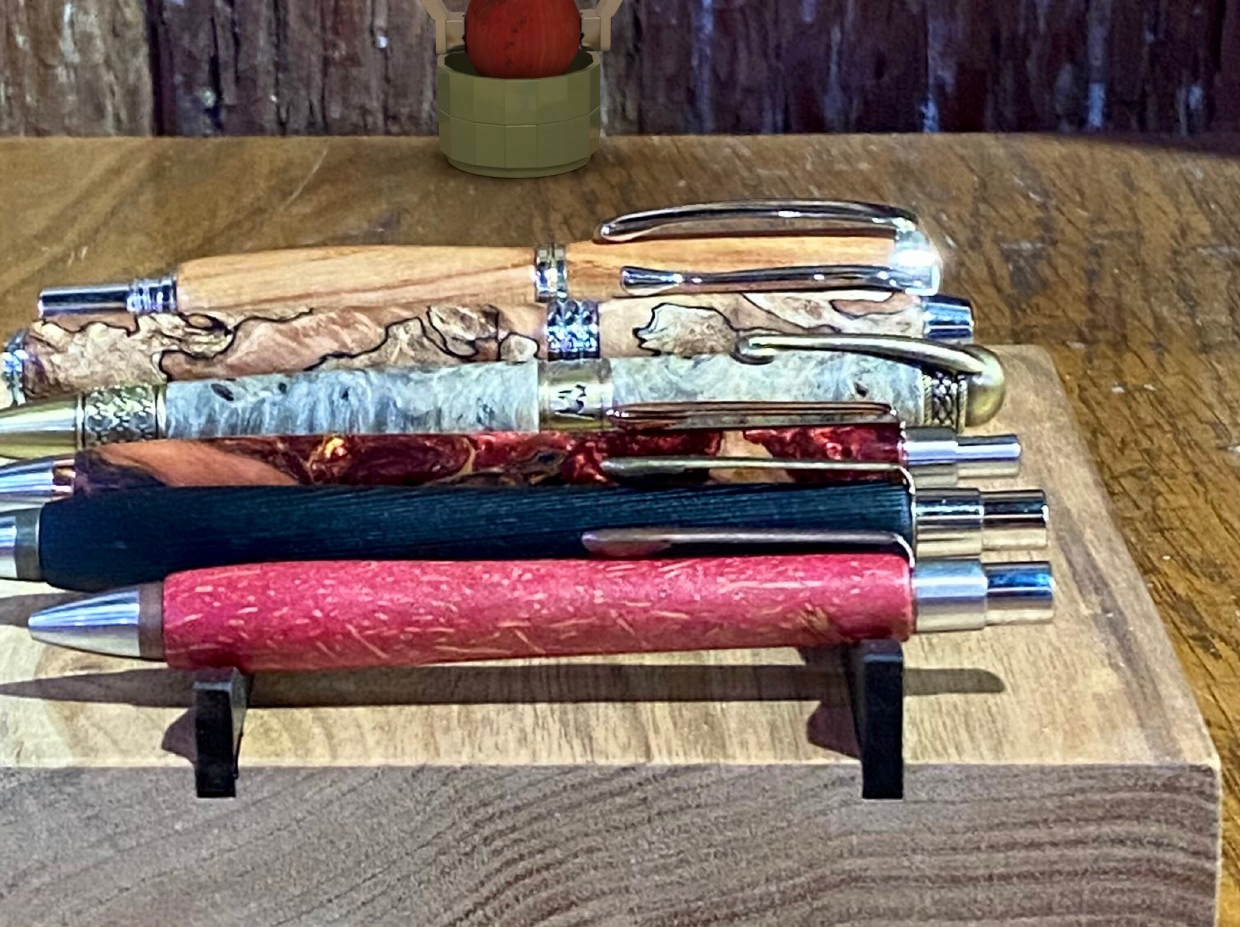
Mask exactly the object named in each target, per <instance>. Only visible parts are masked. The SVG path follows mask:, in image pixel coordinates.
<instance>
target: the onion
mask: <svg viewBox="0 0 1240 927" xmlns="http://www.w3.org/2000/svg"><path fill="white" fill-rule="evenodd" d="M463 37H464V39H465V50H466V54H467V56H468V58H469V60H470V62H471V63H472V65H473V67H474V69H475V70H476V71H477V73H478V74H479V75H480V76H481V77H488V78H499V79H536V78H544V77H553V76H561V75H564V74H565V73H566V72H567V71H568V70H569V68H570V67H571V65H572V63H573V61H574V59H575V57H576V55H577V53H578V50H579V46H580V37H581V22H580V10H579V8H578V6H577V4H576V2H575V0H470V1H469V3H468V6H467V9H466V11H465V34H464V35H463Z"/></svg>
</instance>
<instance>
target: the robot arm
mask: <svg viewBox="0 0 1240 927" xmlns="http://www.w3.org/2000/svg"><path fill="white" fill-rule="evenodd" d="M623 1H624V0H599V2H598V3H597V5H596V7H595V8H586V9H579V15H580V22H581V37H580V48H581V51H593V52H610V51H611V44H612V43H611V42H612V41H611V40H612V39H611V37H612V36H611V35H612V33H611V32H612V31H611V30H612V29H611V28H612V20H611V19H612V17H614V16H615V15H616V13H617V11H618V9H619V8H620V6H621V4H622V3H623ZM420 3H421V4H422V6H423V7H424V9H425V10H426V13H427V14H428V15H429V17H430V18H431V20H432V21H434V27H435V28H434V29H435V54H436V55H437V56H440V55H446V54H465V39H464V37H463V35H464V34H465V15H466V13H465V11H449V10H448V8H447V5H445V3H444V2H443V0H420Z"/></svg>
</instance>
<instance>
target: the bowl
mask: <svg viewBox="0 0 1240 927" xmlns="http://www.w3.org/2000/svg"><path fill="white" fill-rule="evenodd" d="M437 104H438V105H437V106H438V110H437V111H438V112H437V113H438V150H439V151H440V152H441V153H442V154H444V155H445V156H446V160H447V161H448V164H450V165H451V166H453V167H454V168H456V169H458V170H460V171H463V172H466V173H469V174H473V175H478V176H483V177H492V178H500V179H501V178H502V179H531V178H532V179H533V178H543V177H551V176H556V175H562V174H566V173H569V172H572V171H575V170H578V169H580V168H582V167H584V166H585V165H587V164H588V163H589V162H590V160H591V158H592V155H593V154H594V153H595V152H597V151H598V150H599V149H600V140H601V139H600V134H601V133H600V132H601V128H600V127H601V126H600V125H601V106H600V105H601V59H600V55H599V53H597V52H596V51H581V48H580V46H579V50H578V53H577V55H576V57H575V59H574V61H573V63H572V65H571V67H570V68H569V70H568V71H567V72H566V73H565V74H564V75H561V76H553V77H544V78H536V79H499V78H488V77H481V76H480V75H479V74H478V73H477V71H476V70H475V69H474V67H473V65H472V63H471V62H470V60H469V58H468V56H467V54H466V50H465V54H446V55H438V57H437Z"/></svg>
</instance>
